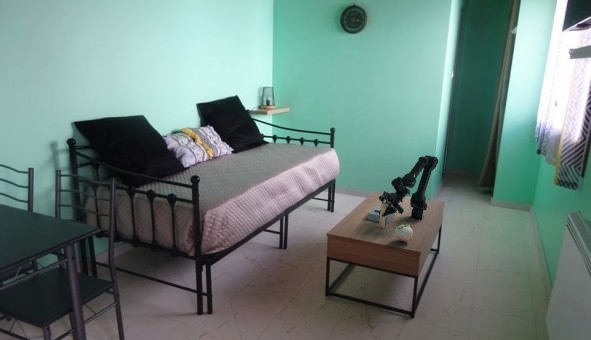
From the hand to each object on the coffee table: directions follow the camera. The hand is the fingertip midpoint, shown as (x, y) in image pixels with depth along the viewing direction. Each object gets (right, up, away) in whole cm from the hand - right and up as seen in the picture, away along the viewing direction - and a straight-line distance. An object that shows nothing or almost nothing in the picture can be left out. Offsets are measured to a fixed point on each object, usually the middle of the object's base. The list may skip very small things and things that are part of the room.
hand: (380, 215), depth 230 cm
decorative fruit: (+8, -12, -17) cm, 23 cm away
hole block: (+4, -3, +17) cm, 18 cm away
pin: (+1, -7, +2) cm, 7 cm away
